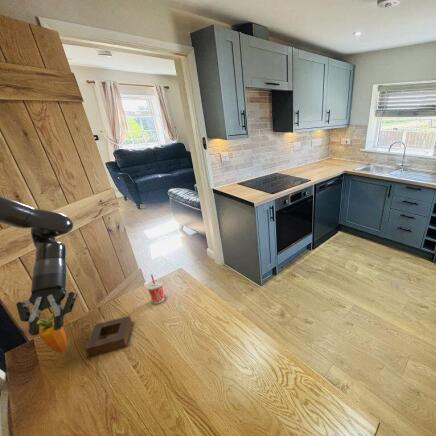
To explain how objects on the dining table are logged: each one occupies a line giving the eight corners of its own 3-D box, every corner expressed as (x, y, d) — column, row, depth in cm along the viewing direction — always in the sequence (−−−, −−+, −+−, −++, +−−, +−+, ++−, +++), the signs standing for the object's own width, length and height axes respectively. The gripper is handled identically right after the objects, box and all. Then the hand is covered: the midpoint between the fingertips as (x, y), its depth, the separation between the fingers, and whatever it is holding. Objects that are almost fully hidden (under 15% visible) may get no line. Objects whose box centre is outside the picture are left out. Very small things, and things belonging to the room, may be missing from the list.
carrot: (71, 342, 79) (53, 308, 73) (75, 351, 76) (56, 317, 70) (51, 352, 76) (30, 318, 69) (54, 362, 73) (33, 327, 67)
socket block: (89, 357, 81) (85, 349, 80) (99, 331, 91) (95, 324, 89) (126, 346, 85) (123, 338, 84) (132, 323, 94) (129, 315, 93)
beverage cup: (151, 306, 102) (143, 281, 97) (150, 297, 107) (143, 272, 102) (166, 302, 105) (159, 276, 99) (165, 293, 110) (159, 268, 104)
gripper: (10, 278, 69) (3, 341, 64) (71, 268, 74) (69, 325, 69) (28, 281, 76) (23, 339, 71) (83, 272, 81) (82, 324, 76)
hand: (46, 332), depth 70 cm, fingers closed on carrot, 4 cm apart
